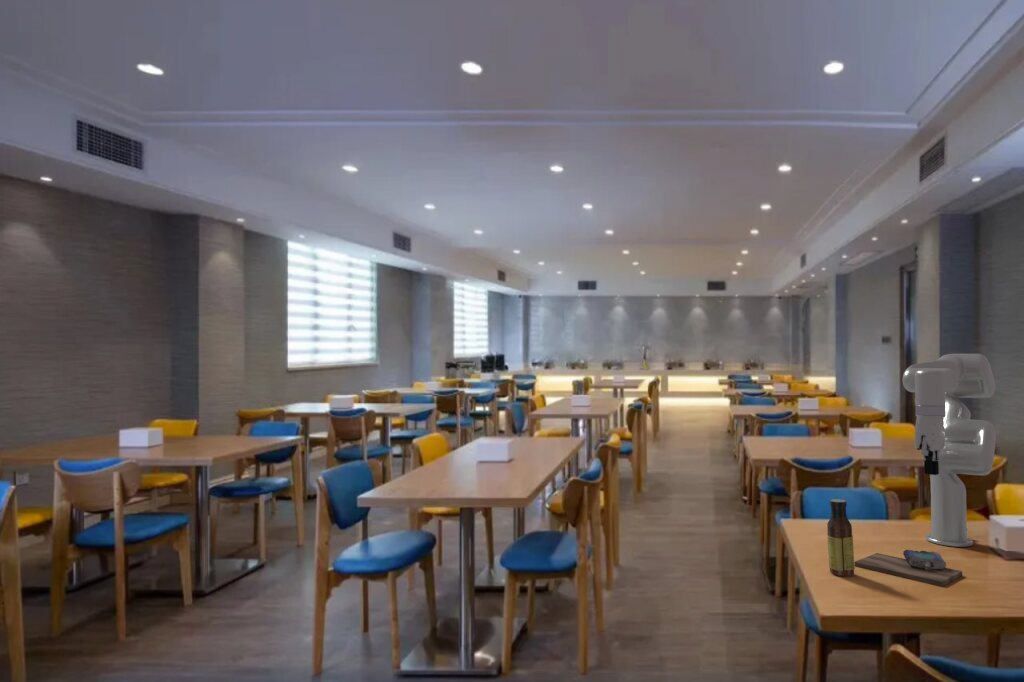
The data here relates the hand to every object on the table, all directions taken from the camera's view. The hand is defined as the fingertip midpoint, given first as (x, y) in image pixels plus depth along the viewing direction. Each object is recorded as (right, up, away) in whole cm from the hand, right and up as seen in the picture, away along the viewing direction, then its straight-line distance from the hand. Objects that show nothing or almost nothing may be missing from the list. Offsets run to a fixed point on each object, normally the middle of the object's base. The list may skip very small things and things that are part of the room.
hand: (931, 474), depth 198 cm
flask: (-7, -22, -6) cm, 24 cm away
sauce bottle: (-34, -25, -15) cm, 44 cm away
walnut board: (-14, -24, -12) cm, 31 cm away
